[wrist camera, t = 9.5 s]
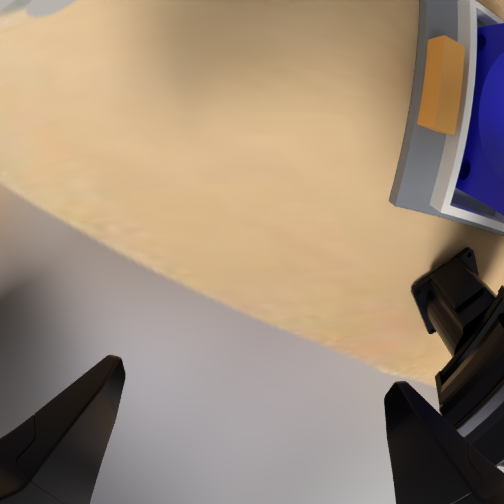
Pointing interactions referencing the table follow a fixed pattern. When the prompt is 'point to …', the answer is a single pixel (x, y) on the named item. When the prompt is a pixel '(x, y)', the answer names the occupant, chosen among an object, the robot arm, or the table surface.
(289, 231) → the table surface
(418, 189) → the dock board
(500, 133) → the blue curved cradle
